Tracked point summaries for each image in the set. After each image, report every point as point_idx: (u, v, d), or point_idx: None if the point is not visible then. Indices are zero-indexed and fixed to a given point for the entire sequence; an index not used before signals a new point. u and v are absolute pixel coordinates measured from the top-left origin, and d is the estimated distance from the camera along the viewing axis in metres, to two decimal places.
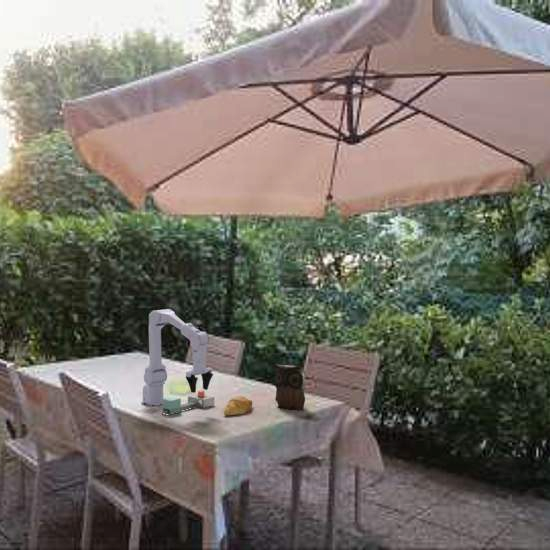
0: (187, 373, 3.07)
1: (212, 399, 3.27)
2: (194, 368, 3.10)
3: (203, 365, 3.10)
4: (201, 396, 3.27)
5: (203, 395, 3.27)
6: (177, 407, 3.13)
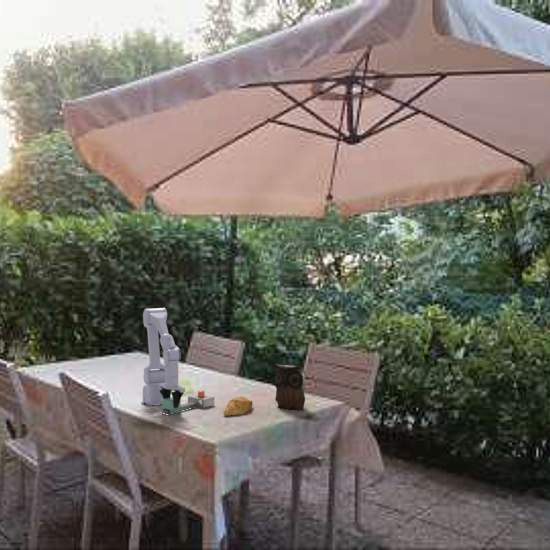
0: None
1: (212, 399, 3.27)
2: None
3: (166, 381, 3.11)
4: (201, 396, 3.27)
5: (203, 395, 3.27)
6: (177, 407, 3.13)
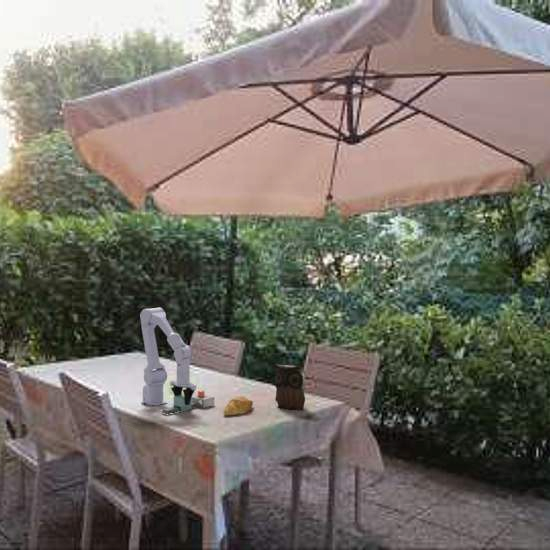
0: None
1: (212, 399, 3.27)
2: None
3: (177, 378, 3.17)
4: (201, 396, 3.27)
5: (203, 395, 3.27)
6: None
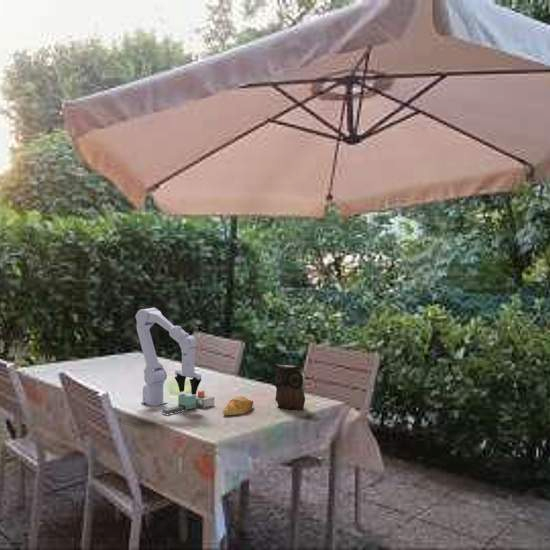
0: None
1: (212, 399, 3.27)
2: None
3: (183, 368, 3.19)
4: (201, 396, 3.27)
5: (203, 395, 3.27)
6: (192, 403, 3.21)
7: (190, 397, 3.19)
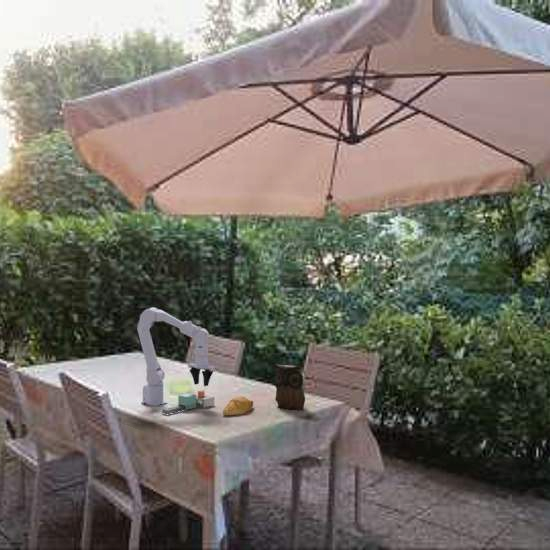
0: None
1: (212, 399, 3.27)
2: None
3: (196, 360, 3.25)
4: (201, 396, 3.27)
5: (203, 395, 3.27)
6: (192, 403, 3.21)
7: (190, 397, 3.19)
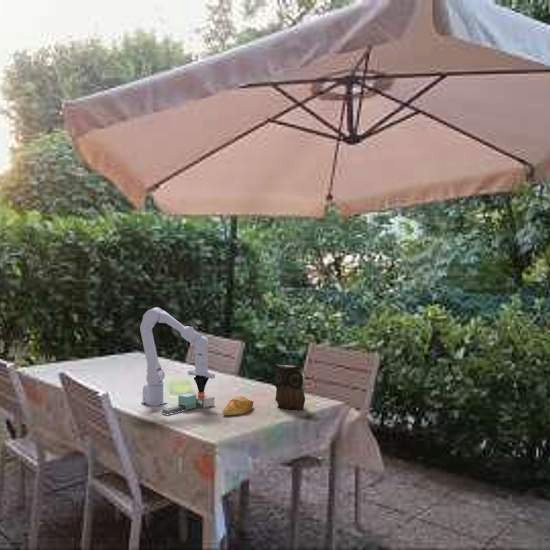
0: None
1: (212, 399, 3.27)
2: None
3: (196, 367, 3.26)
4: (201, 397, 3.27)
5: (203, 396, 3.27)
6: (192, 403, 3.21)
7: (190, 397, 3.19)
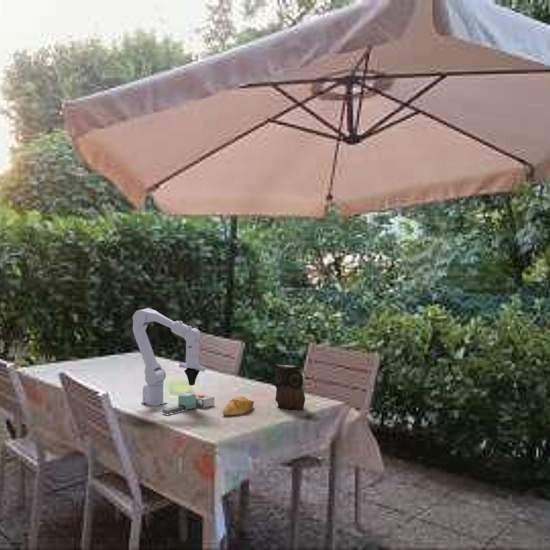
0: None
1: (212, 399, 3.27)
2: None
3: (187, 360, 3.22)
4: None
5: None
6: (192, 403, 3.21)
7: (190, 397, 3.19)
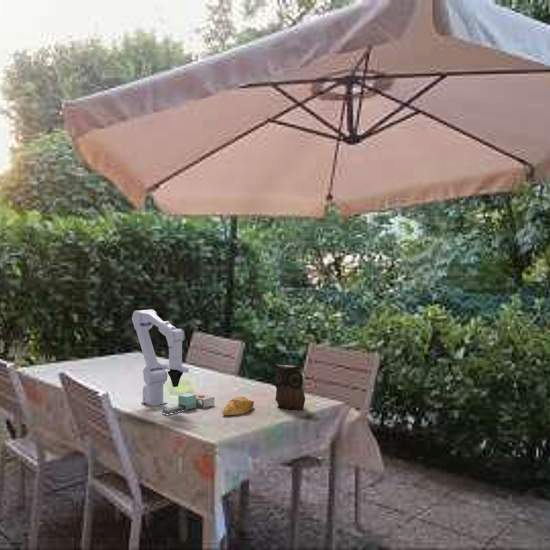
0: None
1: (212, 399, 3.27)
2: None
3: (170, 361, 3.17)
4: None
5: None
6: (192, 403, 3.21)
7: (190, 397, 3.19)
